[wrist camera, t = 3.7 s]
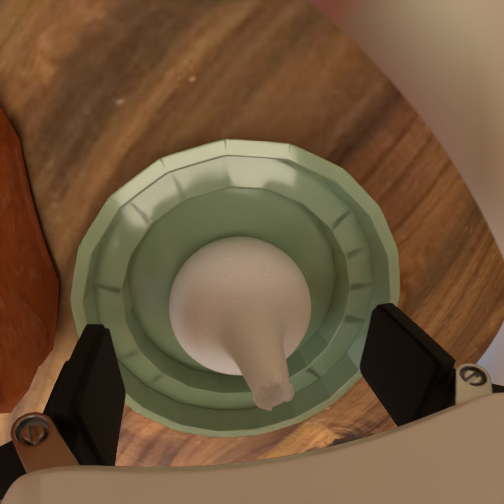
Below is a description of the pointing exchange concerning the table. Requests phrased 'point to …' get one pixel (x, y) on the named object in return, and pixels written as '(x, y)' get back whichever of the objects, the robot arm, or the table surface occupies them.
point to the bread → (22, 278)
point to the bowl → (224, 226)
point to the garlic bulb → (242, 313)
